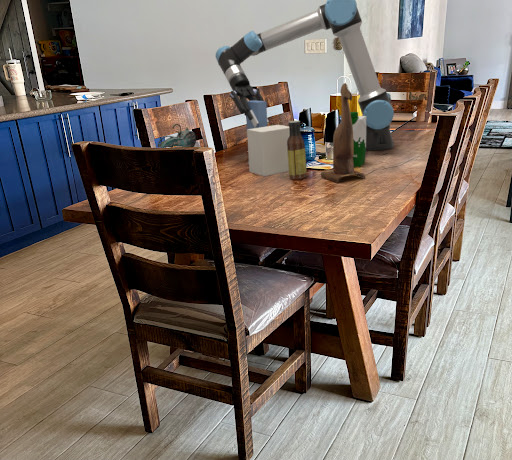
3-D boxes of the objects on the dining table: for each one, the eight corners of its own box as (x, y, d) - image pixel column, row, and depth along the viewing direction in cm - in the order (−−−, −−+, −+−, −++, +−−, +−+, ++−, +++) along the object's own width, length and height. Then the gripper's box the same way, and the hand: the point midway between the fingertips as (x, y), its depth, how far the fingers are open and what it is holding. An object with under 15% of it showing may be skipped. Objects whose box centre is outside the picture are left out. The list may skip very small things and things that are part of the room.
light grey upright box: (233, 166, 204) (230, 126, 198) (265, 160, 212) (263, 121, 206) (264, 176, 186) (261, 132, 180) (298, 168, 194) (297, 126, 188)
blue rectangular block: (247, 134, 206) (245, 101, 201) (255, 132, 208) (253, 100, 203) (259, 136, 199) (257, 102, 194) (267, 135, 201) (266, 101, 196)
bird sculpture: (339, 185, 170) (341, 85, 158) (319, 177, 180) (320, 83, 168) (366, 180, 174) (370, 83, 163) (345, 172, 184) (347, 81, 173)
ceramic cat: (191, 172, 199) (185, 120, 192) (203, 173, 195) (198, 121, 188) (153, 184, 184) (146, 128, 177) (166, 186, 180) (159, 129, 173)
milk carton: (339, 167, 193) (339, 113, 186) (345, 162, 200) (345, 110, 194) (362, 168, 189) (362, 113, 182) (367, 162, 197) (368, 110, 190)
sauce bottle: (308, 176, 182) (307, 119, 176) (304, 180, 177) (302, 122, 170) (290, 175, 185) (288, 120, 178) (286, 179, 179) (283, 122, 172)
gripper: (252, 84, 214) (276, 128, 206) (216, 88, 205) (240, 133, 198) (258, 71, 208) (283, 115, 200) (221, 74, 199) (246, 120, 192)
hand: (261, 124), depth 199 cm, fingers closed on blue rectangular block, 4 cm apart
